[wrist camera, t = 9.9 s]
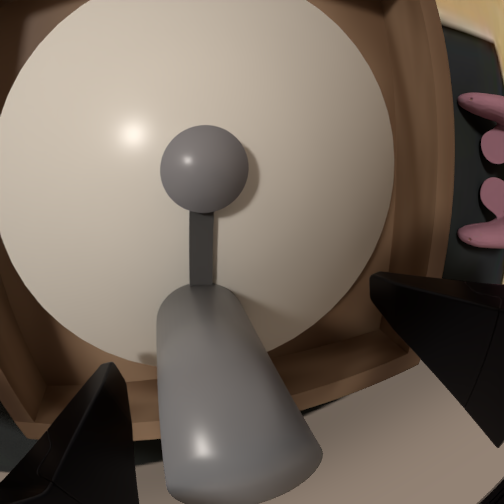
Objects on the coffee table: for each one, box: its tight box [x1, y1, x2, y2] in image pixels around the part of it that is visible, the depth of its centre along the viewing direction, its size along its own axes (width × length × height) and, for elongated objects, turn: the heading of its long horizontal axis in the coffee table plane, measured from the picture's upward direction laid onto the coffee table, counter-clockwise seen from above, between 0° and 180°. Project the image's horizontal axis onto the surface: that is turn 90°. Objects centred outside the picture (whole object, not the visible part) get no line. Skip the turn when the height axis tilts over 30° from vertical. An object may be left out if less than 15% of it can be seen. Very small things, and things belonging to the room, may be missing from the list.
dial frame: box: [0, 0, 455, 441], centre depth 9 cm, size 19×19×4 cm
